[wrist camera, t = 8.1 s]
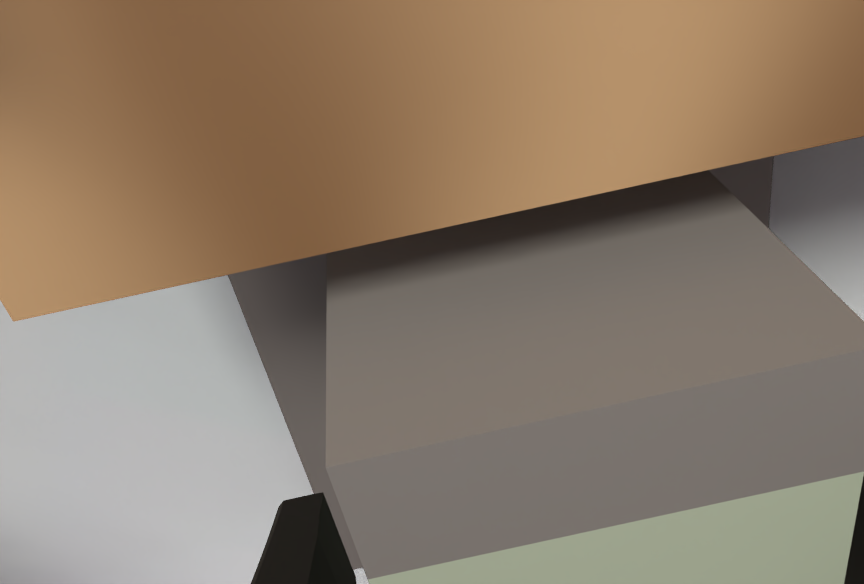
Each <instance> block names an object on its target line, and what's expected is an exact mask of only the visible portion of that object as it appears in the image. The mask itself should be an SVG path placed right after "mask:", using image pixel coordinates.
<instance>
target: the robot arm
mask: <svg viewBox="0 0 864 584" xmlns="http://www.w3.org/2000/svg"><path fill="white" fill-rule="evenodd" d="M251 584H356V577H355V574H354V571H353V569H352V566H351V564H350V561H349V558H348V556H347V553H346V550H345V548H344V545H343V543H342V540H341V537H340V535H339V532H338V530H337V527H336V524H335V522H334V519H333V517H332V514H331V511H330V509H329V506H328V504H327V501H326V498H325V496H324V493H323V492H322V493H317V494H312V495H308V496H303V497H298V498H294V499H289V500H285V501H283V502H282V504H281V505H280V506H279V507H278V510H277V514H276V517H275V520H274V523H273V526H272V528H271V531H270V534H269V537H268V540H267V543H266V545H265V548H264V551H263V554H262V556H261V559H260V562H259V564H258V567H257V569H256V572H255V574H254V577H253V579H252V582H251ZM844 584H864V476H863V482H862V487H861V493H860V498H859V504H858V509H857V515H856V520H855V526H854V531H853V537H852V542H851V548H850V553H849V559H848V564H847V570H846V575H845V581H844Z"/></svg>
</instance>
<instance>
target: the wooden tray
mask: <svg viewBox="0 0 864 584" xmlns="http://www.w3.org/2000/svg"><path fill="white" fill-rule="evenodd" d="M862 136H864V0H0V300H1V302H2V303H3V305H4V307H5V308H6V310H7V312H8V313H9V315H10V317H11V318H12V320H13V321H18V320H22V319H27V318H32V317H36V316H41V315H45V314H50V313H55V312H59V311H64V310H68V309H73V308H78V307H82V306H87V305H91V304H96V303H100V302H105V301H110V300H114V299H119V298H123V297H128V296H133V295H137V294H142V293H146V292H151V291H156V290H160V289H165V288H169V287H174V286H178V285H183V284H188V283H192V282H197V281H201V280H206V279H211V278H215V277H220V276H224V275H229V274H234V273H238V272H243V271H247V270H252V269H256V268H261V267H266V266H270V265H275V264H279V263H284V262H289V261H293V260H298V259H302V258H307V257H312V256H316V255H321V254H325V253H330V252H335V251H339V250H344V249H348V248H353V247H357V246H362V245H367V244H371V243H376V242H380V241H385V240H390V239H394V238H399V237H403V236H408V235H413V234H417V233H422V232H426V231H431V230H435V229H440V228H445V227H449V226H454V225H458V224H463V223H468V222H472V221H477V220H481V219H486V218H491V217H495V216H500V215H504V214H509V213H513V212H518V211H523V210H527V209H532V208H536V207H541V206H546V205H550V204H555V203H559V202H564V201H569V200H573V199H578V198H582V197H587V196H591V195H596V194H601V193H605V192H610V191H614V190H619V189H624V188H628V187H633V186H637V185H642V184H647V183H651V182H656V181H660V180H665V179H669V178H674V177H679V176H683V175H688V174H692V173H697V172H702V171H706V170H711V169H715V168H720V167H725V166H729V165H734V164H738V163H743V162H748V161H752V160H757V159H761V158H766V157H770V156H775V155H780V154H784V153H789V152H793V151H798V150H803V149H807V148H812V147H816V146H821V145H826V144H830V143H835V142H839V141H844V140H848V139H853V138H858V137H862Z"/></svg>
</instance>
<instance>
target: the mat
mask: <svg viewBox="0 0 864 584" xmlns="http://www.w3.org/2000/svg"><path fill="white" fill-rule="evenodd" d="M772 169H773V156H770V157H766V158H761V159H757V160H752V161H748V162H743V163H738V164H734V165H729V166H725V167H720V168H715V169H711V170H709V171H710V172H711V173H712V174H713V175H714V176H715V177H716V178H717V179H718V180H719V181H720V182H721V183H722V184H723V185H724V186H725V187H726V188H727V189H728V190H729V191H730V192H731V193H732V194H733V195H734V196H735V197H736V198H737V199H738V200H739V201H740V202H741V203H743V204H744V205H745V206H746V207H747V208H748V209H749V210H750V211H751V212H752V213H753V214H754V215H755V216H756V217H757V218H758V219H759V220H760V221H761V222H762V223H763V224H764V225H765V226H766V227H767V228H768V227H769V213H770V198H771V184H772ZM228 276H229V279H230V281H231V284H232V286H233V289H234V292H235V294H236V297H237V299H238V302H239V304H240V307H241V309H242V312H243V314H244V317H245V320H246V322H247V325H248V327H249V330H250V332H251V335H252V337H253V340H254V342H255V345H256V347H257V350H258V353H259V355H260V358H261V360H262V363H263V365H264V368H265V370H266V373H267V375H268V378H269V380H270V383H271V386H272V388H273V391H274V393H275V396H276V398H277V401H278V403H279V406H280V408H281V411H282V413H283V416H284V419H285V421H286V424H287V426H288V429H289V431H290V434H291V436H292V439H293V441H294V444H295V447H296V449H297V452H298V454H299V457H300V459H301V462H302V464H303V467H304V469H305V472H306V474H307V477H308V480H309V482H310V485H311V487H312V490H313V492H314V494H317V493H322V492H323V493H324V496H325V498H326V501H327V504H328V506H329V509H330V511H331V514H332V517H333V519H334V522H335V524H336V527H337V530H338V532H339V535H340V537H341V540H342V543H343V545H344V548H345V550H346V553H347V556H348V558H349V561H350V564H351V566H352V569H357V568H362V567H363V566H362V563H361V560H360V558H359V555H358V552H357V550H356V547H355V544H354V542H353V539H352V536H351V534H350V531H349V528H348V526H347V523H346V520H345V518H344V515H343V513H342V510H341V507H340V505H339V502H338V499H337V497H336V494H335V491H334V489H333V486H332V483H331V481H330V478H329V475H328V473H327V470H326V312H327V253H325V254H321V255H316V256H312V257H307V258H302V259H298V260H293V261H289V262H284V263H279V264H275V265H270V266H266V267H261V268H256V269H252V270H247V271H243V272H238V273H234V274H229V275H228Z"/></svg>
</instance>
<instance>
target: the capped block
mask: <svg viewBox="0 0 864 584" xmlns="http://www.w3.org/2000/svg"><path fill="white" fill-rule="evenodd" d="M326 470H327V473H328V475H329V478H330V481H331V483H332V486H333V489H334V491H335V494H336V497H337V499H338V502H339V505H340V507H341V510H342V513H343V515H344V518H345V520H346V523H347V526H348V528H349V531H350V534H351V536H352V539H353V542H354V544H355V547H356V550H357V552H358V555H359V558H360V560H361V563H362V566H363V568H364V571H365V574H366V576H367V579H368V582H369V584H844V581H845V575H846V570H847V564H848V559H849V553H850V548H851V542H852V537H853V531H854V526H855V520H856V515H857V509H858V504H859V498H860V493H861V487H862V482H863V476H864V321H863V320H862V319H861V318H860V317H859V316H858V315H857V314H855V313H854V312H853V311H852V310H851V309H850V308H849V307H848V306H847V305H846V304H845V303H844V302H843V301H842V300H841V299H840V298H839V297H838V296H837V295H836V294H835V293H834V292H833V291H832V290H831V289H830V288H829V287H828V286H827V285H826V284H825V283H824V282H823V281H822V280H821V279H820V278H819V277H817V276H816V275H815V274H814V273H813V272H812V271H811V270H810V269H809V268H808V267H807V266H806V265H805V264H804V263H803V262H802V261H801V260H800V259H799V258H798V257H797V256H796V255H795V254H794V253H793V252H792V251H791V250H790V249H789V248H788V247H787V246H786V245H785V244H784V243H783V242H782V241H781V240H779V239H778V238H777V237H776V236H775V235H774V234H773V233H772V232H771V231H770V230H769V229H768V228H767V227H766V226H765V225H764V224H763V223H762V222H761V221H760V220H759V219H758V218H757V217H756V216H755V215H754V214H753V213H752V212H751V211H750V210H749V209H748V208H747V207H746V206H745V205H744V204H743V203H741V202H740V201H739V200H738V199H737V198H736V197H735V196H734V195H733V194H732V193H731V192H730V191H729V190H728V189H727V188H726V187H725V186H724V185H723V184H722V183H721V182H720V181H719V180H718V179H717V178H716V177H715V176H714V175H713V174H712V173H711V172H710V171H709V170H706V171H702V172H697V173H692V174H688V175H683V176H679V177H674V178H669V179H665V180H660V181H656V182H651V183H647V184H642V185H637V186H633V187H628V188H624V189H619V190H614V191H610V192H605V193H601V194H596V195H591V196H587V197H582V198H578V199H573V200H569V201H564V202H559V203H555V204H550V205H546V206H541V207H536V208H532V209H527V210H523V211H518V212H513V213H509V214H504V215H500V216H495V217H491V218H486V219H481V220H477V221H472V222H468V223H463V224H458V225H454V226H449V227H445V228H440V229H435V230H431V231H426V232H422V233H417V234H413V235H408V236H403V237H399V238H394V239H390V240H385V241H380V242H376V243H371V244H367V245H362V246H357V247H353V248H348V249H344V250H339V251H335V252H330V253H327V312H326Z"/></svg>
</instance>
